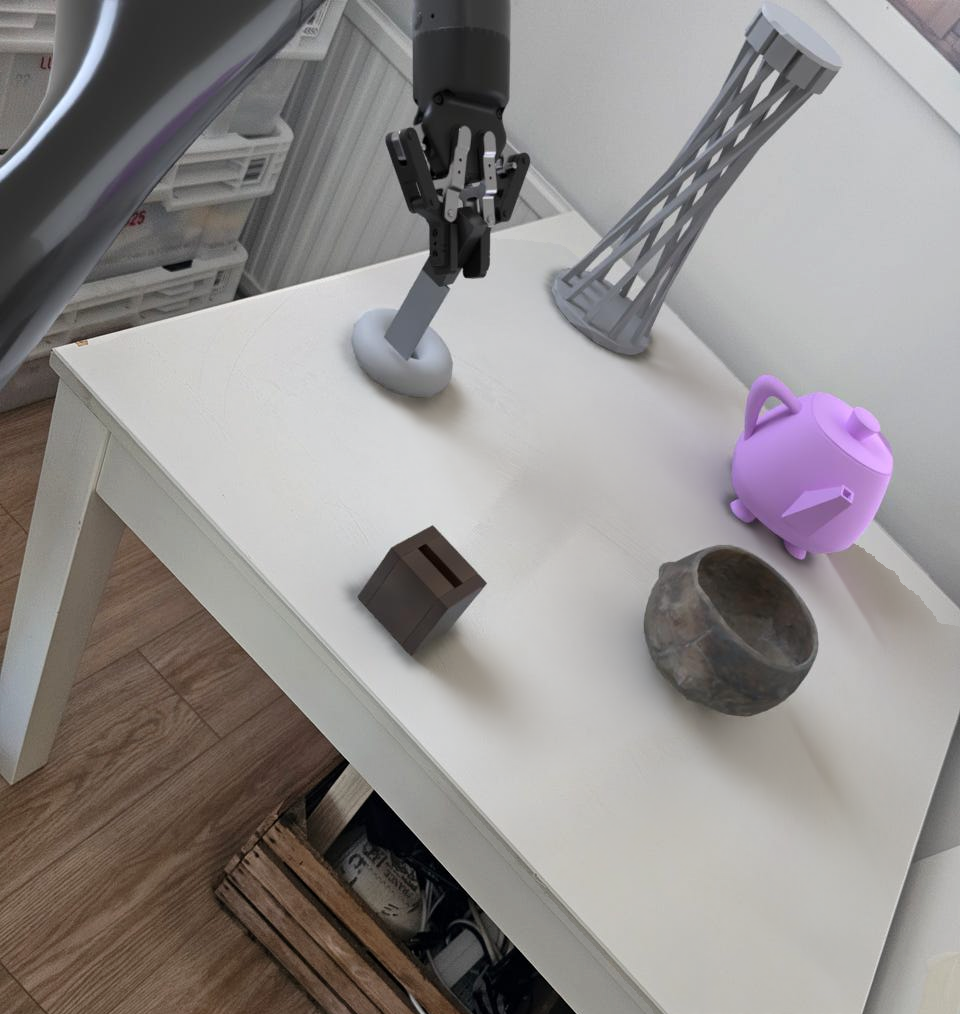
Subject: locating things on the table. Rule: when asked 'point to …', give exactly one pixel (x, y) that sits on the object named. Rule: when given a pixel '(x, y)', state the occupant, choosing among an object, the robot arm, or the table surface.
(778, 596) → the bowl
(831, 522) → the teapot
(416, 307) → the knife
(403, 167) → the robot arm
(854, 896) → the table surface
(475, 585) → the knife block
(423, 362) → the donut
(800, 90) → the gray lattice tower
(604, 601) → the table surface
